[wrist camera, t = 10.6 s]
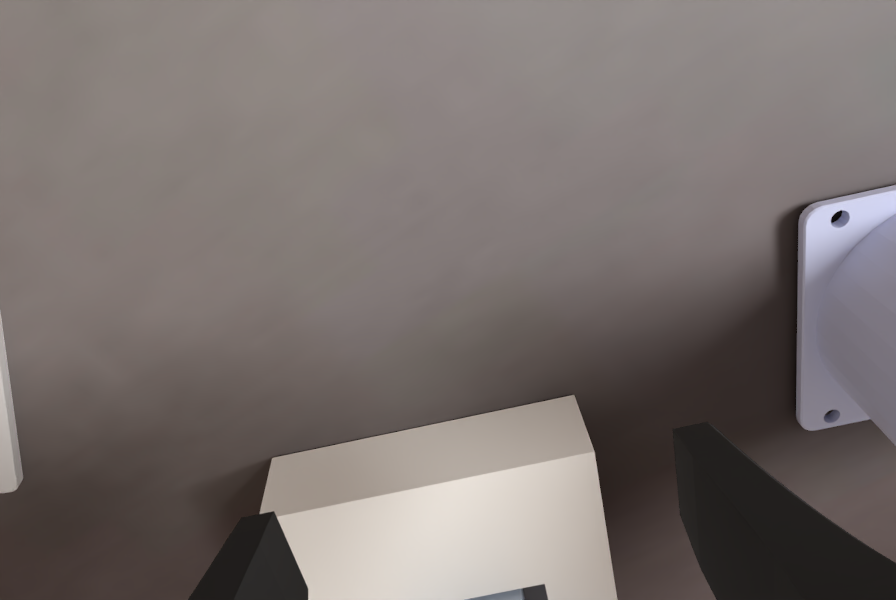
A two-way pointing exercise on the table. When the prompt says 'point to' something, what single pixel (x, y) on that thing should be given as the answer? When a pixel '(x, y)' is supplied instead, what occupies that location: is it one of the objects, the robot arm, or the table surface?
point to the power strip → (450, 510)
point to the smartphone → (7, 429)
